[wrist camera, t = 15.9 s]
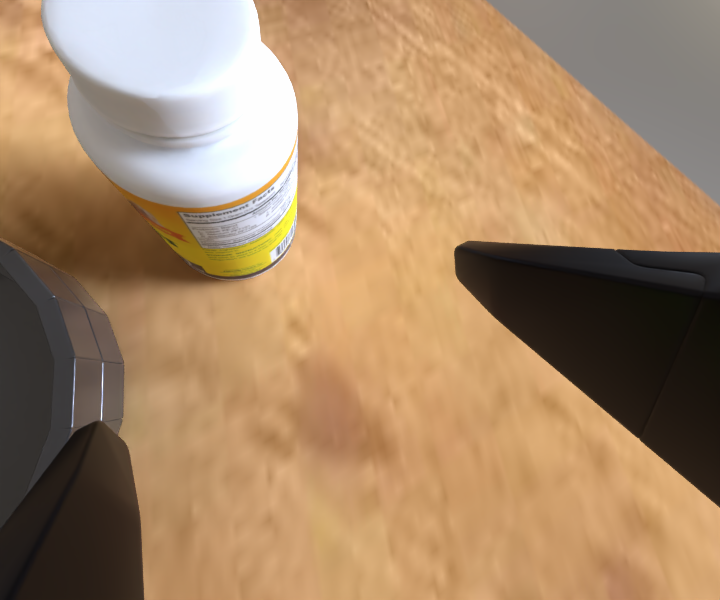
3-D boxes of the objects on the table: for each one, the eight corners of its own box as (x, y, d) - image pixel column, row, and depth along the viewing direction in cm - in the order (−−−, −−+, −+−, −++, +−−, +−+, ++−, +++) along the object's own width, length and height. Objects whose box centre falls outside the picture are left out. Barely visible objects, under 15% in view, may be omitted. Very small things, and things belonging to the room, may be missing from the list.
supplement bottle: (159, 186, 17) (-34, -100, 7) (278, 164, 18) (260, -101, 8) (186, 299, 16) (8, 158, 6) (310, 268, 17) (331, 110, 7)
